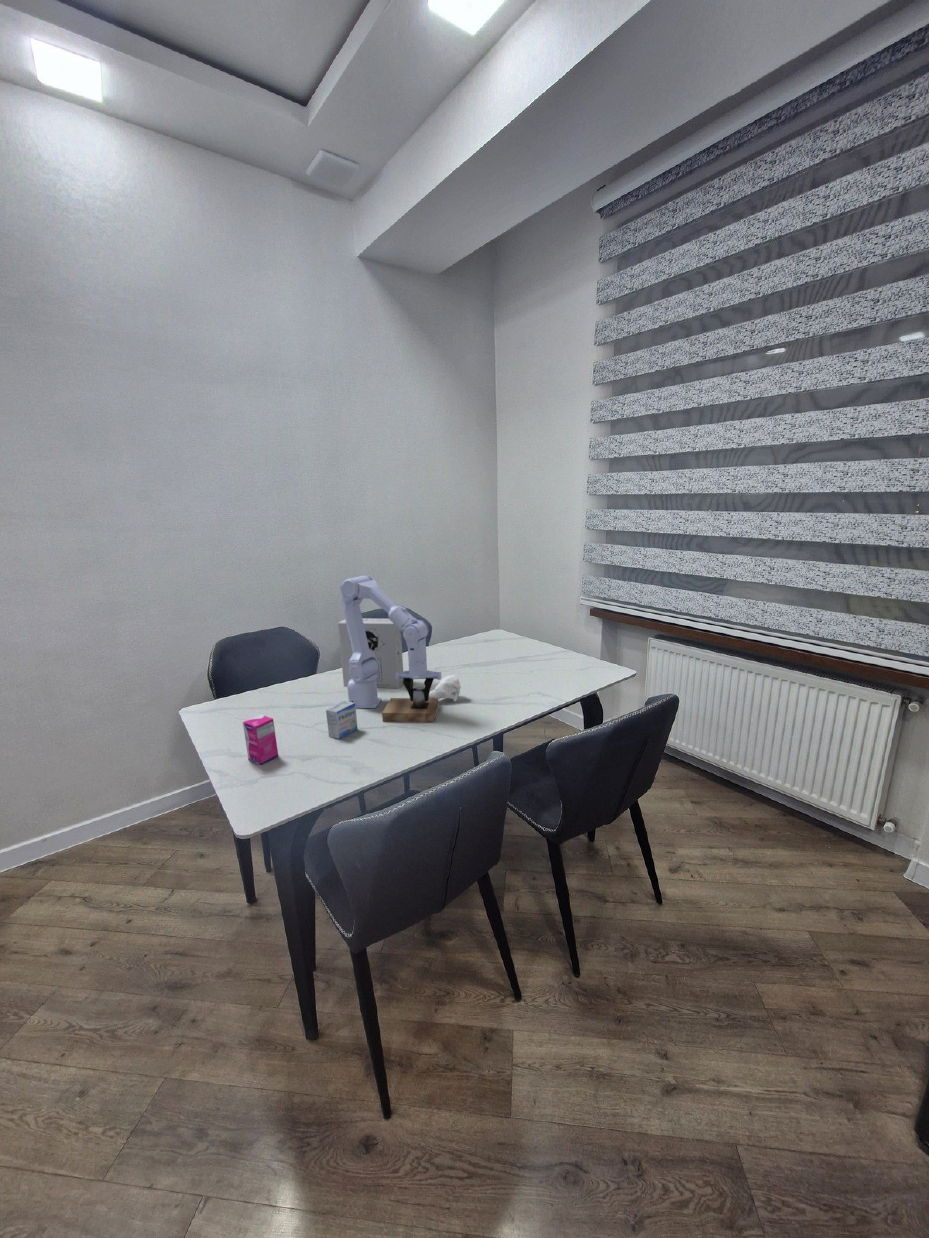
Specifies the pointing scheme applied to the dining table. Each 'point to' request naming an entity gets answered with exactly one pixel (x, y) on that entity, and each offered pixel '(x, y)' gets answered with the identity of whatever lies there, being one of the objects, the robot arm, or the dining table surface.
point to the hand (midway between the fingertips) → (419, 699)
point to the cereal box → (376, 650)
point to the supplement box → (260, 739)
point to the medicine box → (341, 719)
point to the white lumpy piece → (447, 688)
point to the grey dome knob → (419, 697)
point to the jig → (409, 711)
